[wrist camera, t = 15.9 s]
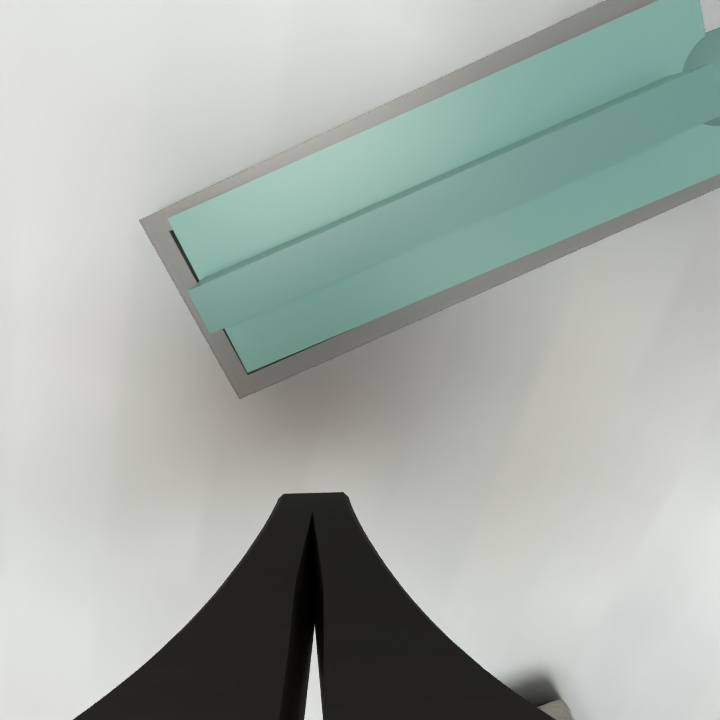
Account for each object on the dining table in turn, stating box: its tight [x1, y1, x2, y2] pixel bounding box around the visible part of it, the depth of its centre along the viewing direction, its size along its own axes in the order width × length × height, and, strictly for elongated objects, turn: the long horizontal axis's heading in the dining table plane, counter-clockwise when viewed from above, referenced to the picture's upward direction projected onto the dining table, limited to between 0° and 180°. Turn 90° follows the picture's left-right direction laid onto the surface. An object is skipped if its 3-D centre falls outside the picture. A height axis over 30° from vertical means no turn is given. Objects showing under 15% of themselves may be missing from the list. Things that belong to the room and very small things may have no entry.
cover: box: [167, 0, 720, 373], centre depth 14 cm, size 16×5×2 cm, turn 113°
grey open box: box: [139, 0, 720, 399], centre depth 16 cm, size 17×6×2 cm, turn 114°
